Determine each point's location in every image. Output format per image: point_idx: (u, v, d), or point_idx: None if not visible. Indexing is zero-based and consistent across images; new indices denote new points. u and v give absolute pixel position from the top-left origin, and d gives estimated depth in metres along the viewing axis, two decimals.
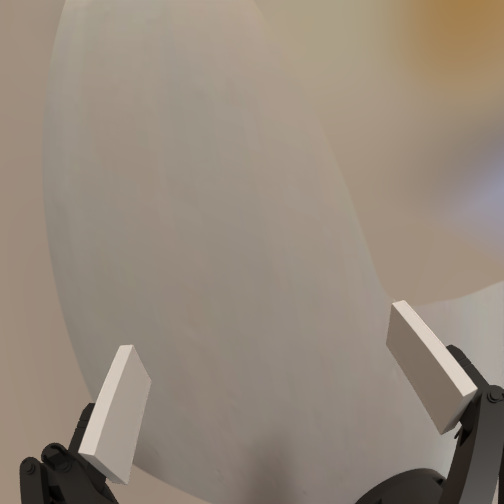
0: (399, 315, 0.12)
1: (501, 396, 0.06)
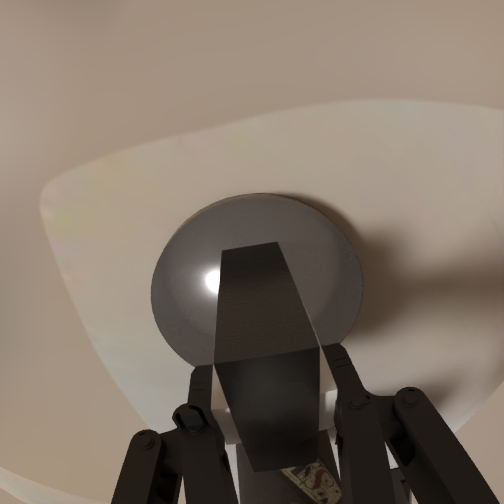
0: None
1: (366, 398, 0.08)
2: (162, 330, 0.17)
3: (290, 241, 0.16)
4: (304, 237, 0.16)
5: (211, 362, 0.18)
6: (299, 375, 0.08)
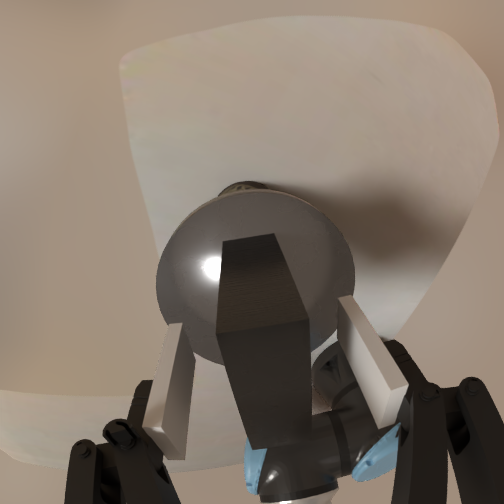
0: (343, 309, 0.14)
1: (436, 392, 0.08)
2: (166, 317, 0.19)
3: (286, 233, 0.17)
4: (299, 229, 0.17)
5: (212, 349, 0.20)
6: (292, 347, 0.09)
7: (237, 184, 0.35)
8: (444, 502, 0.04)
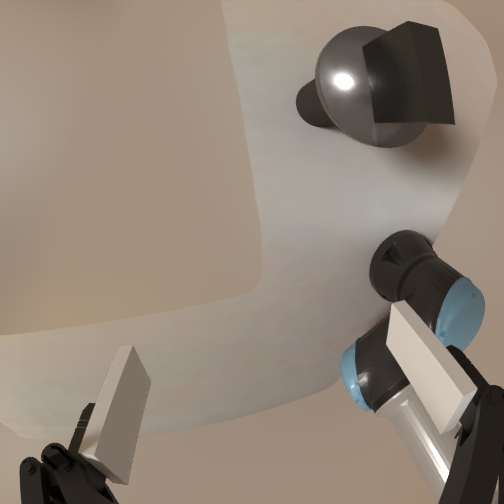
0: (399, 315, 0.12)
1: (501, 396, 0.06)
2: (323, 90, 0.22)
3: None
4: None
5: (353, 121, 0.24)
6: (435, 38, 0.13)
7: None
8: (489, 503, 0.03)
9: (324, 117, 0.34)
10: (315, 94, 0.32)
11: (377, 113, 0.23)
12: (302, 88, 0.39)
